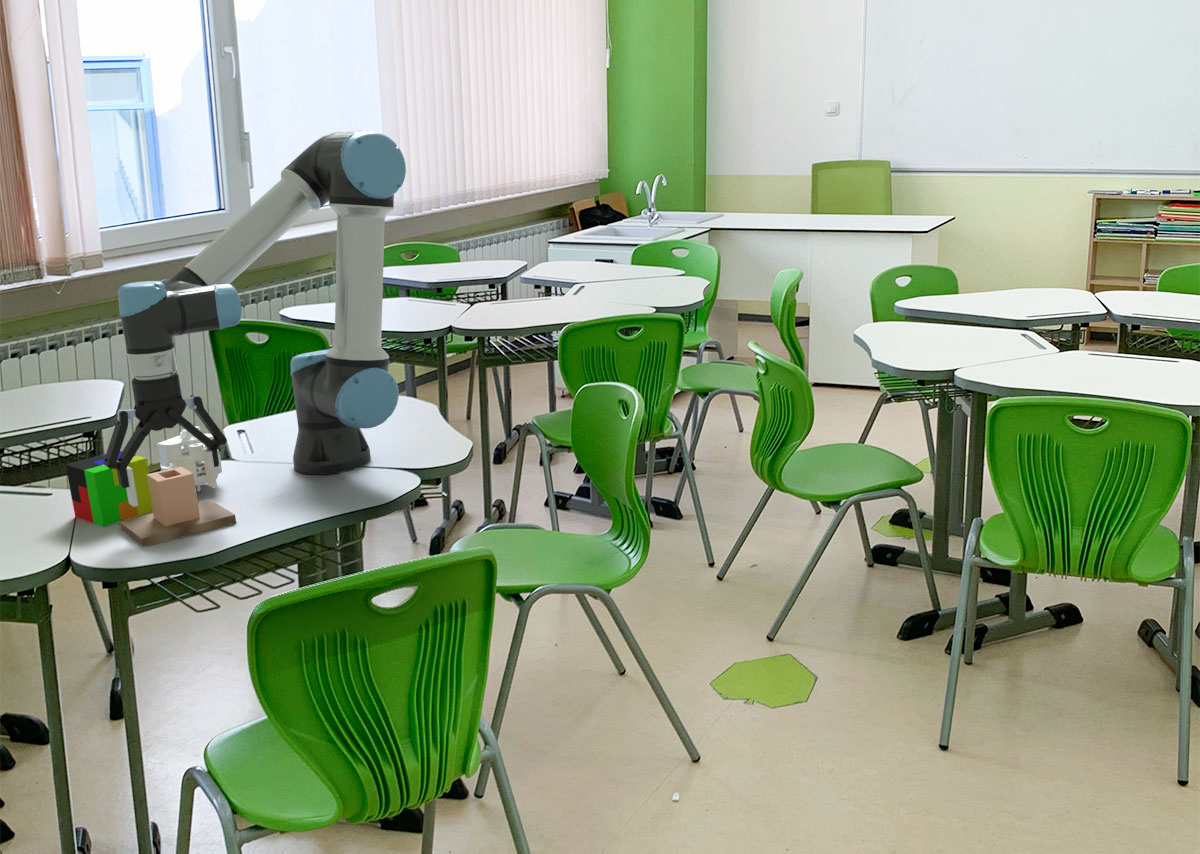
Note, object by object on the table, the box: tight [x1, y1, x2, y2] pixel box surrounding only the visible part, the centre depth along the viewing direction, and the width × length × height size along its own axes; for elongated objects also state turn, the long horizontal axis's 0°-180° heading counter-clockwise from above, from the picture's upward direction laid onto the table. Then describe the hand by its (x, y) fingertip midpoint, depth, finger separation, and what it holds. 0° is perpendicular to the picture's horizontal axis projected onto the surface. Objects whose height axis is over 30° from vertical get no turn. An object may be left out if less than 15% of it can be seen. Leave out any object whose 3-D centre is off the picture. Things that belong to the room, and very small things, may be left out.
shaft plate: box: [119, 499, 237, 548], centre depth 202 cm, size 16×12×8 cm
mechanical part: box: [156, 425, 223, 492], centre depth 223 cm, size 11×12×12 cm
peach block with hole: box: [147, 467, 200, 526], centre depth 202 cm, size 6×6×8 cm
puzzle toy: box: [65, 450, 153, 528], centre depth 211 cm, size 10×10×10 cm
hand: (173, 495), depth 202 cm, fingers open, 13 cm apart
